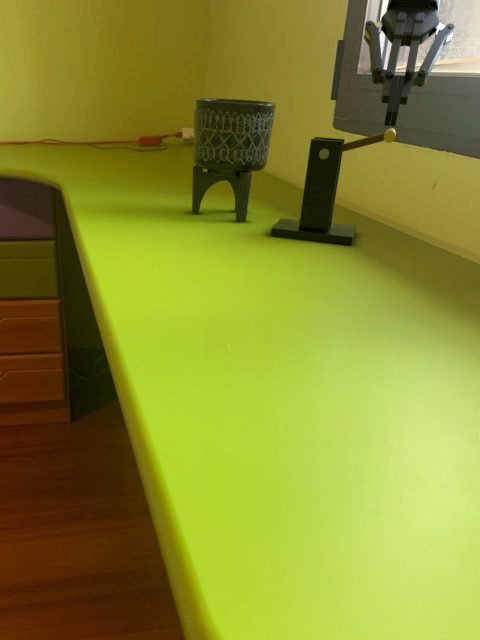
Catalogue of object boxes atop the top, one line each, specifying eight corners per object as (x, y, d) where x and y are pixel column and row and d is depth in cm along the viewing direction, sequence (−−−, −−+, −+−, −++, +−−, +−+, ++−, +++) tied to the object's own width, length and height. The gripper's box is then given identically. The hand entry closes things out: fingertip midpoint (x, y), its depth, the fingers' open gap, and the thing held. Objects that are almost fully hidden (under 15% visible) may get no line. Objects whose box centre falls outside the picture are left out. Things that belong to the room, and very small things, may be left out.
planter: (278, 221, 115) (292, 104, 107) (210, 224, 110) (220, 102, 102) (237, 206, 125) (248, 99, 117) (174, 209, 120) (180, 97, 112)
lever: (397, 140, 100) (394, 123, 100) (396, 144, 95) (394, 125, 95) (320, 161, 105) (317, 144, 104) (315, 165, 100) (312, 148, 99)
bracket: (355, 233, 109) (371, 139, 103) (351, 245, 102) (368, 144, 95) (280, 225, 112) (291, 133, 106) (270, 236, 105) (282, 138, 98)
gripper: (455, 17, 107) (434, 141, 100) (368, 14, 110) (342, 134, 104) (467, -29, 100) (444, 102, 93) (373, -30, 103) (346, 96, 97)
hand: (391, 118), depth 98 cm, fingers closed
